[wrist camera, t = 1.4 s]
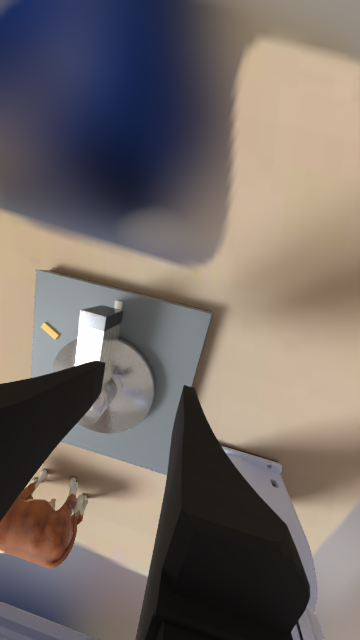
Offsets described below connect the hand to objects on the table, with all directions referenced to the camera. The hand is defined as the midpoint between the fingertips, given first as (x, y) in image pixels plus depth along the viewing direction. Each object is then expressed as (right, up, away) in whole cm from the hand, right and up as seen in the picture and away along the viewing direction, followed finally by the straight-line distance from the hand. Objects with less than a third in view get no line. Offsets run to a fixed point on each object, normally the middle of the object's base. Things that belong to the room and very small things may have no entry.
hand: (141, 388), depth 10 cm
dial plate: (-6, -2, +11) cm, 12 cm away
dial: (-5, -1, +9) cm, 11 cm away
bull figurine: (-16, -19, +16) cm, 29 cm away
